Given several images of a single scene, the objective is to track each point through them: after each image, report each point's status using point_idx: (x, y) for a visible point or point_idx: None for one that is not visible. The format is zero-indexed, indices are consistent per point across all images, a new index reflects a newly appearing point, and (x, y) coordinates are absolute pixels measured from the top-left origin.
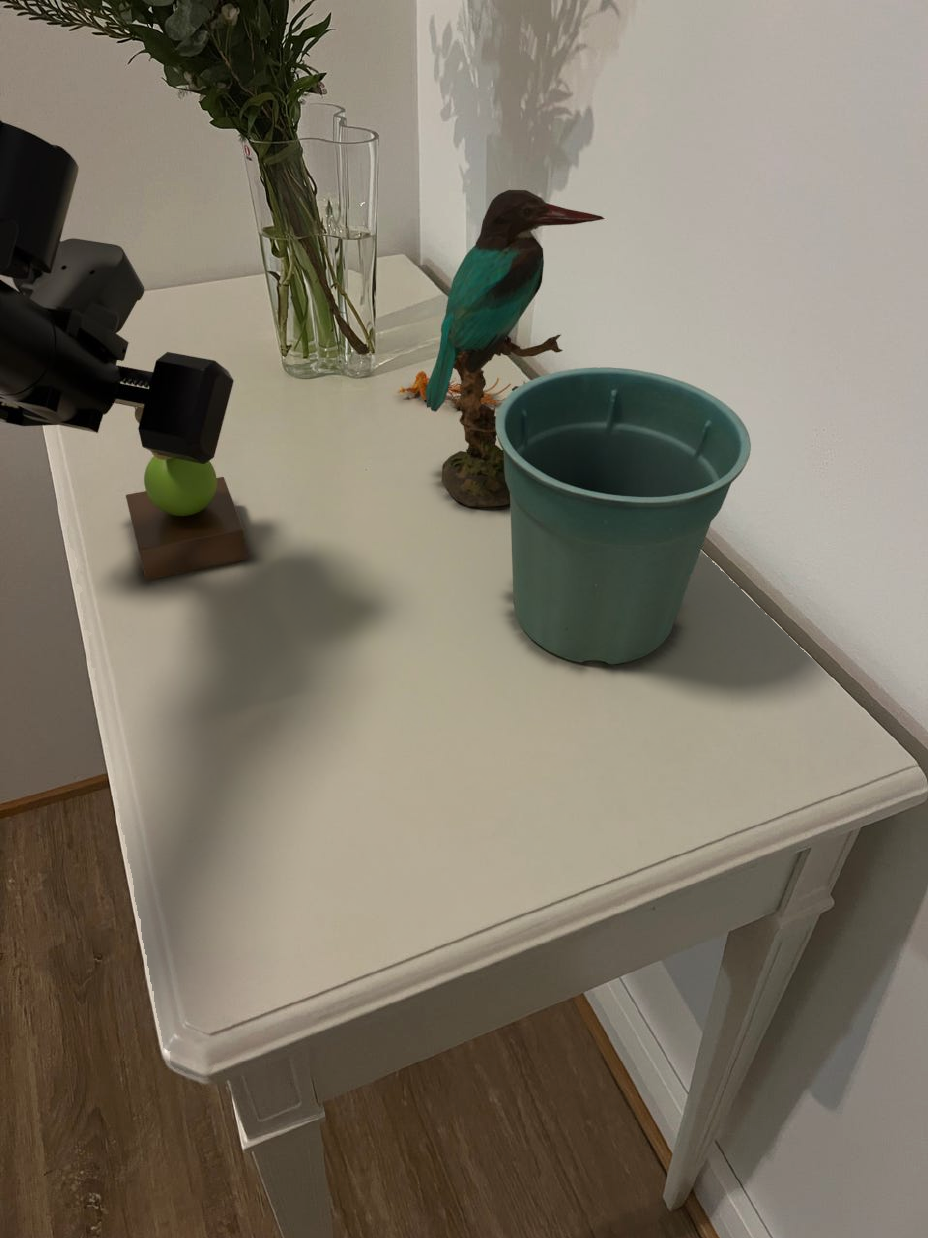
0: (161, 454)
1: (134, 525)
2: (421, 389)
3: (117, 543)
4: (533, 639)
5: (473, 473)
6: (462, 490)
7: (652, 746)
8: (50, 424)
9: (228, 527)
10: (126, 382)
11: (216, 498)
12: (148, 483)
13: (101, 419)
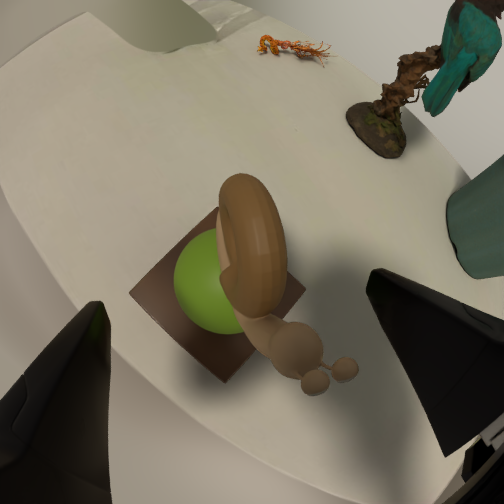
0: (465, 461)
1: (184, 346)
2: (276, 48)
3: (145, 334)
4: (470, 274)
5: (389, 133)
6: (386, 148)
7: (501, 309)
8: (108, 480)
9: (290, 294)
10: (501, 495)
11: None
12: (209, 328)
13: (109, 321)
